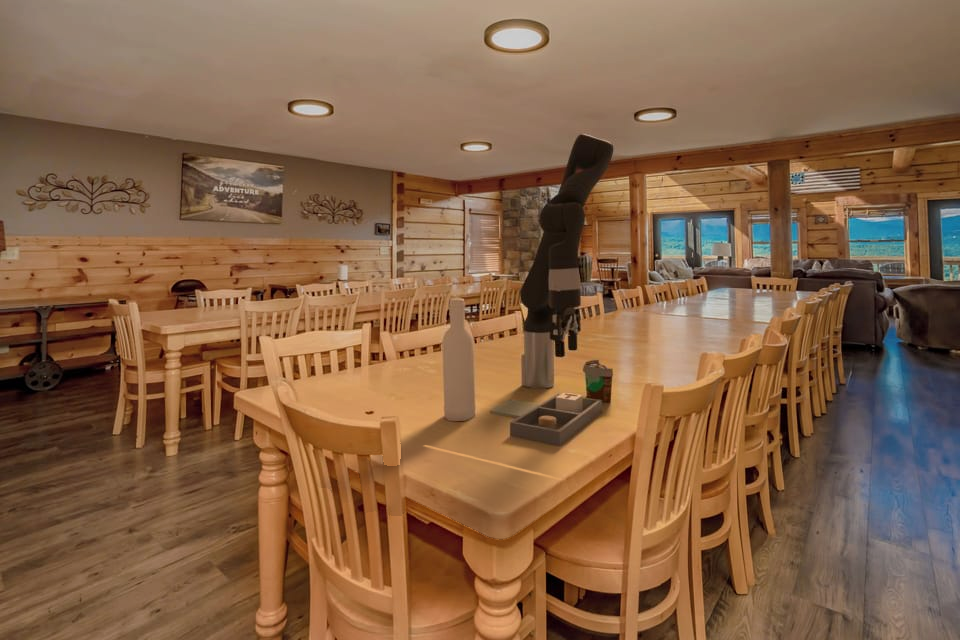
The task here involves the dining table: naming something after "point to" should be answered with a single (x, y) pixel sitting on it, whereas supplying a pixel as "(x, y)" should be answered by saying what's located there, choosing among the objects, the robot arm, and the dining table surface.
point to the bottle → (458, 366)
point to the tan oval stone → (547, 422)
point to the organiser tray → (565, 422)
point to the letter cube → (569, 402)
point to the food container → (598, 381)
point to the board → (513, 408)
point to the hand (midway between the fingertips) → (566, 353)
